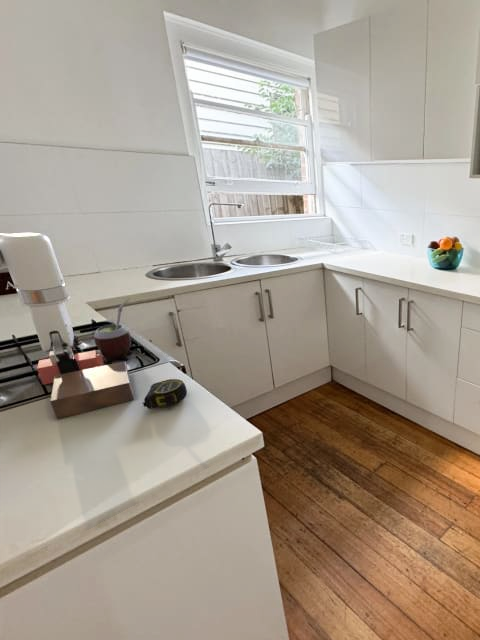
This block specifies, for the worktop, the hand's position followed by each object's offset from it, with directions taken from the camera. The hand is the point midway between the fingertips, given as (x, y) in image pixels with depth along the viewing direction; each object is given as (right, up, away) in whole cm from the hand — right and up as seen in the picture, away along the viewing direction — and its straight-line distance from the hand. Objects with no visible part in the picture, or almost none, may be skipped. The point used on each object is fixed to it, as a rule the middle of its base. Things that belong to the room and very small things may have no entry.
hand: (72, 370), depth 87 cm
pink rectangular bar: (0, -1, 0) cm, 1 cm away
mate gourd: (+4, +2, +9) cm, 11 cm away
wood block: (+12, -5, -7) cm, 15 cm away
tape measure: (+27, -6, -9) cm, 29 cm away
